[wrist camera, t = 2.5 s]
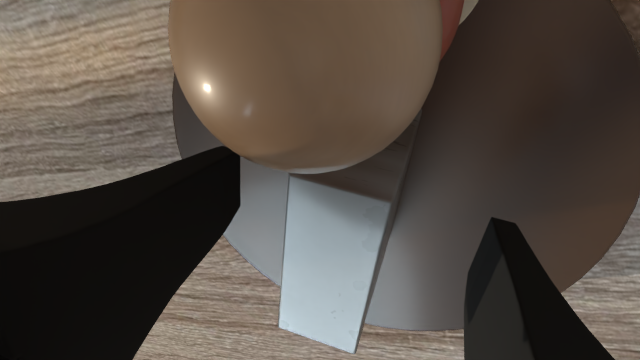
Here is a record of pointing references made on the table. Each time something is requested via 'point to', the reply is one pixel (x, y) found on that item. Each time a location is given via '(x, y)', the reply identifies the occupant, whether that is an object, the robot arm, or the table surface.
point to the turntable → (409, 144)
